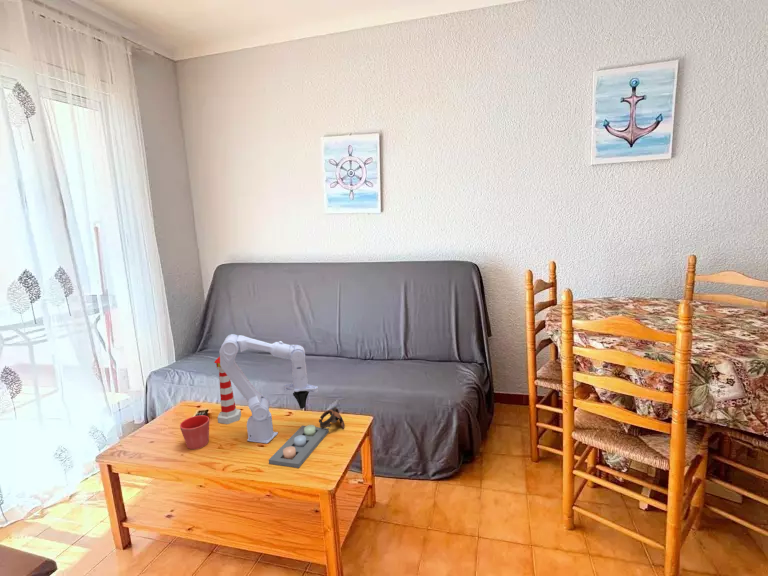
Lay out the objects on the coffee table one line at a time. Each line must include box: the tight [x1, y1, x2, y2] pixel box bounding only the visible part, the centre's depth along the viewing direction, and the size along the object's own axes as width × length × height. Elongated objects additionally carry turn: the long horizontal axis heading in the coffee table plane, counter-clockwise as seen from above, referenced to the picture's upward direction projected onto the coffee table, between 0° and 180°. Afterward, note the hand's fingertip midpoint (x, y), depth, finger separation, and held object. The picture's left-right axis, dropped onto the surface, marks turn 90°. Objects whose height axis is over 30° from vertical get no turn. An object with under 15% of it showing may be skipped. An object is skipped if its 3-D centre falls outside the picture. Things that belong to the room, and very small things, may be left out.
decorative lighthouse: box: [213, 355, 242, 425], centre depth 182 cm, size 10×9×30 cm
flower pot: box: [179, 414, 210, 450], centre depth 164 cm, size 11×11×10 cm
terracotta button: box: [283, 446, 296, 460], centre depth 151 cm, size 4×4×3 cm
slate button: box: [294, 435, 306, 447], centre depth 158 cm, size 4×4×3 cm
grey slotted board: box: [268, 425, 330, 469], centre depth 158 cm, size 12×25×2 cm, turn 163°
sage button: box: [304, 424, 316, 436], centre depth 166 cm, size 4×4×3 cm
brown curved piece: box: [318, 407, 345, 430], centre depth 173 cm, size 12×10×8 cm
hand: (302, 407), depth 168 cm, fingers closed
